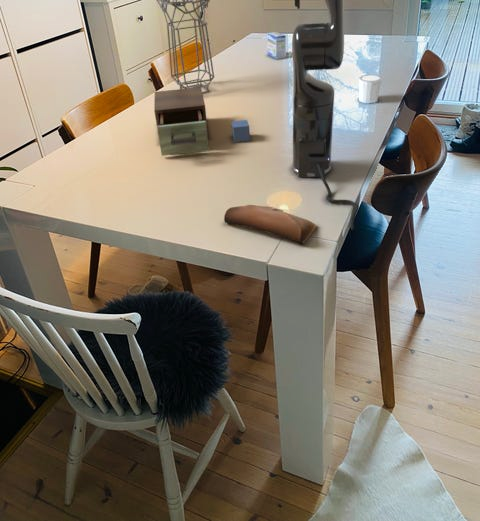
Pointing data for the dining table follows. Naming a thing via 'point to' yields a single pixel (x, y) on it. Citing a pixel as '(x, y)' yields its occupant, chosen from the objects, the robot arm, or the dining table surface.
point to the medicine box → (276, 45)
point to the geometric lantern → (195, 38)
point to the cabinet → (179, 102)
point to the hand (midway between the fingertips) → (313, 7)
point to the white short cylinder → (369, 88)
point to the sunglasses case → (271, 221)
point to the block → (240, 131)
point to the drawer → (182, 132)
